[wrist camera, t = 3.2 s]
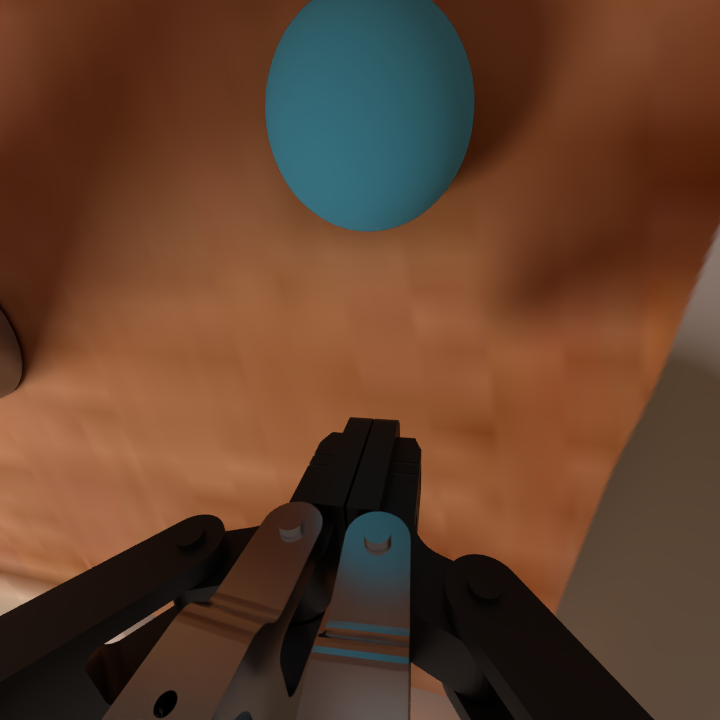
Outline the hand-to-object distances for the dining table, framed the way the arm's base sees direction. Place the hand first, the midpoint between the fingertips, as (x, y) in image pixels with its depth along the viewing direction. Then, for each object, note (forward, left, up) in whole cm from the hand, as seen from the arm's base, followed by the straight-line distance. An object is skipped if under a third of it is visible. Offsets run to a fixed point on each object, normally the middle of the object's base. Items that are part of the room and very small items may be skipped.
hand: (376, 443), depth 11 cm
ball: (0, +9, -3) cm, 10 cm away
